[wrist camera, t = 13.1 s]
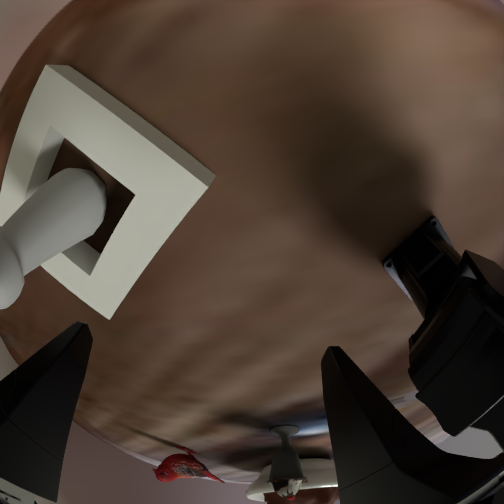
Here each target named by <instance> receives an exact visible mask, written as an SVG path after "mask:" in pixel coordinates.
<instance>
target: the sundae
mask: <svg viewBox="0 0 504 504" xmlns="http://www.w3.org/2000/svg"><path fill="white" fill-rule="evenodd" d="M299 430H300V429H299V428H298V427H297V426H293V425H281V426H277V427H274V428H272V429H271V430H270V432H271V433H272V434H273V435H277V436H280V437H281V440H282V448H281V449H279V450H278V451H277V452H276V453H275V454H274V456H273V459H272V465H271V471H270V476H269V480H268V481H266V482H265V484H270V485H271V486H272V487H273V488H274V491H275V492H277V494H279V495H280V496H282V497H285V498H287V499H288V500H290V502H291V504H292V500H293V499H294V498H295V494H296V493H297V492H298V490H299V489H300V487H301V484H302V483H307V482H308V478H307V477H304V476H303V473H302V469H301V464H300V459H299V456H298V453H297V452H296V451H295V450H294V449H292V448H290V447H289V437H290V435H293V434H296V433H298V432H299Z"/></svg>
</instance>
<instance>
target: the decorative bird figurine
mask: <svg viewBox="0 0 504 504" xmlns="http://www.w3.org/2000/svg"><path fill="white" fill-rule="evenodd" d="M176 447H178V446H176ZM178 448H181V449H182V450H184V451H186V452H187V453H188V454H189V455H187V454H174V455H170V456H168V457H167V458H165V459H164V460H163V462H162V463H161V464H160V465H159V466H158V468H157V469H153V471H154V472H155V474H156V477H157V479H158V480H160V481H162V482H168V481H173V480H175V479H177V478H201V477H209V478H212V479H214V480H217V481H220V482H223V483H224V481H222V480H221V479H219V478H217V477H216V476H214V475H213V474H211V473H210V472H209V471H208V469H207V468H206V467H205V465H204V464H202V463H201V462H199V461H198V460H197V459H196V458H195V457H194V456H193V455H192V454H191V453H193V451H192V450H188V449H186V448H184V447H178ZM191 451H192V452H191ZM194 453H196V452H194ZM194 453H193V454H194Z"/></svg>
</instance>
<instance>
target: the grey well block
mask: <svg viewBox="0 0 504 504" xmlns="http://www.w3.org/2000/svg"><path fill="white" fill-rule="evenodd" d="M64 138H66V139H67V140H69V141H70V142H71V143H72V144H73V145H75V146H76V147H77V148H78V149H80V150H81V151H82V152H83V153H84V154H86V155H87V156H88V157H89V158H90V159H92V160H93V161H94V162H95V163H97V164H98V165H99V166H100V167H102V168H103V169H104V170H105V171H107V172H108V173H109V174H110V175H111V176H113V177H114V178H115V179H116V180H118V181H119V182H120V183H121V184H123V185H124V186H125V187H127V188H128V189H129V190H130V191H132V192H133V193H134V194H135V197H134V198H133V200H132V201H131V203H130V205H129V206H128V208H127V210H126V211H125V213H124V215H123V216H122V218H121V220H120V221H119V223H118V225H117V226H116V228H115V230H114V232H113V233H112V235H111V237H110V239H109V241H108V243H107V244H106V246H105V248H104V250H103V252H102V254H100V253H99V252H97V251H96V250H95V249H94V248H92V247H91V246H90V245H89V244H87V243H86V242H85V241H84V240H82V241H80V242H78V243H77V244H75V245H73V246H71V247H69V248H68V249H66V250H64V251H62V252H61V253H59V254H57V255H56V256H54V257H52V258H51V259H49V260H47V261H46V262H44V263H42V264H41V266H42V267H43V268H44V269H45V270H46V271H47V272H49V273H50V274H51V275H52V276H53V277H54V278H56V279H57V280H58V281H59V282H60V283H62V284H63V285H64V286H65V287H66V288H68V289H69V290H70V291H71V292H73V293H74V294H75V295H76V296H78V297H79V298H80V299H82V300H83V301H84V302H85V303H87V304H88V305H89V306H91V307H92V308H93V309H95V310H96V311H97V312H99V313H100V314H102V315H103V316H104V317H106V318H107V319H109V320H110V318H111V317H112V315H113V314H114V312H115V311H116V309H117V308H118V306H119V305H120V303H121V302H122V300H123V299H124V297H125V296H126V294H127V293H128V292H129V290H130V289H131V287H132V286H133V284H134V283H135V282H136V280H137V279H138V277H139V276H140V274H141V273H142V272H143V270H144V269H145V268H146V266H147V265H148V263H149V262H150V261H151V259H152V258H153V257H154V255H155V254H156V253H157V251H158V250H159V249H160V247H161V246H162V245H163V243H164V242H165V241H166V239H167V238H168V237H169V235H170V234H171V233H172V232H173V230H174V229H175V228H176V226H177V225H178V224H179V223H180V221H181V220H182V219H183V218H184V216H185V215H186V214H187V213H188V211H189V210H190V209H191V208H192V206H193V205H194V204H195V203H196V202H197V200H198V199H199V198H200V197H201V196H202V194H203V193H204V192H205V191H206V190H207V188H208V187H209V186H210V184H211V182H212V181H213V179H214V178H215V176H216V175H215V174H214V173H212V172H211V171H210V170H209V169H207V168H206V167H205V166H204V165H202V164H201V163H200V162H199V161H197V160H196V159H195V158H194V157H192V156H191V155H190V154H189V153H187V152H186V151H185V150H183V149H182V148H181V147H180V146H178V145H177V144H176V143H174V142H173V141H172V140H171V139H169V138H168V137H167V136H165V135H164V134H163V133H161V132H160V131H159V130H158V129H156V128H155V127H154V126H152V125H151V124H150V123H148V122H147V121H146V120H144V119H143V118H142V117H140V116H139V115H138V114H136V113H135V112H134V111H132V110H131V109H130V108H128V107H127V106H125V105H124V104H123V103H121V102H120V101H119V100H117V99H116V98H114V97H113V96H112V95H110V94H109V93H108V92H106V91H105V90H103V89H102V88H101V87H99V86H98V85H96V84H95V83H93V82H92V81H91V80H89V79H88V78H86V77H85V76H83V75H82V74H81V73H79V72H78V71H76V70H75V69H73V68H72V67H70V66H68V65H45V67H44V69H43V71H42V73H41V75H40V77H39V79H38V81H37V83H36V85H35V88H34V90H33V92H32V94H31V96H30V99H29V101H28V103H27V106H26V108H25V111H24V113H23V116H22V119H21V121H20V124H19V127H18V130H17V133H16V136H15V139H14V142H13V145H12V148H11V152H10V155H9V159H8V162H7V166H6V170H5V174H4V179H3V183H2V188H1V193H0V226H1V227H2V226H3V225H4V223H5V222H6V221H7V220H8V219H9V218H10V217H11V216H12V215H13V214H14V213H15V212H16V211H17V210H18V208H19V207H20V206H21V205H22V204H23V203H24V202H25V201H26V200H27V199H28V198H29V197H31V196H32V195H33V194H34V193H35V192H36V191H37V190H38V189H39V188H40V187H41V186H42V185H43V184H44V183H46V182H47V179H48V177H49V174H50V171H51V169H52V166H53V164H54V161H55V159H56V156H57V154H58V151H59V149H60V147H61V145H62V142H63V140H64Z"/></svg>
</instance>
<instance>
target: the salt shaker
mask: <svg viewBox="0 0 504 504" xmlns="http://www.w3.org/2000/svg"><path fill="white" fill-rule="evenodd" d="M106 209H107V186H106V185H105V184H104V183H103V182H102V181H101V180H100V179H99V177H98V176H97V175H96V174H95V173H94V172H93V171H89V170H85V169H80V168H66V169H64V170H62V171H60V172H58V173H57V174H55V175H54V176H52V177H51V178H50V179H49V180H48V181H47V182H46V183H44V184H43V185H42V186H41V187H40V188H39V189H38V190H37V191H36V192H35V193H34V194H33V195H32V196H31V197H29V198H28V199H27V200H26V201H25V202H24V203H23V204H22V205H21V206H20V207H19V208H18V210H17V211H16V212H15V213H14V214H13V215H12V216H11V217H10V218H9V219H8V220H7V221H6V222H5V223H4V225H3V226H2V227H1V228H0V309H5V308H7V307H9V306H10V305H11V304H13V303H14V302H15V300H16V299H17V298H18V296H19V295H20V293H21V291H22V288H23V285H24V283H25V282H24V276H25V275H26V274H28V273H29V272H30V271H32V270H33V269H35V268H36V267H38V266H39V265H41V264H42V263H44V262H46V261H47V260H49V259H51V258H52V257H54V256H56V255H57V254H59V253H61V252H62V251H64V250H66V249H68V248H69V247H71V246H73V245H75V244H77V243H78V242H80V241H82V240H84V239H86V238H88V237H89V236H91V235H93V234H94V232H95V231H96V230H97V228H98V227H99V226H100V224H101V223H102V222H103V219H104V216H105V212H106Z"/></svg>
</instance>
